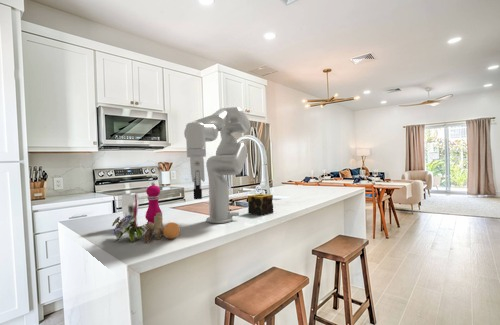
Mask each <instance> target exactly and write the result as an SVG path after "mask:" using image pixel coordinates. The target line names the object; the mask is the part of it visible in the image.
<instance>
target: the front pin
mask: <svg viewBox="0 0 500 325" xmlns="http://www.w3.org/2000/svg"><path fill="white" fill-rule="evenodd" d="M164 227H165V226H163V227H161V234H162V235H164V233H163V229H164ZM147 228H148V229H151V230H153V231H154V223H151V222H149V223H148V225H147ZM164 236H165V235H164Z"/></svg>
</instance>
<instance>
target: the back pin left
mask: <svg viewBox="0 0 500 325" xmlns="http://www.w3.org/2000/svg"><path fill="white" fill-rule="evenodd" d="M153 234H154V240H159V241H160V240H161V239H162V235H161V216H154V233H153Z"/></svg>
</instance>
